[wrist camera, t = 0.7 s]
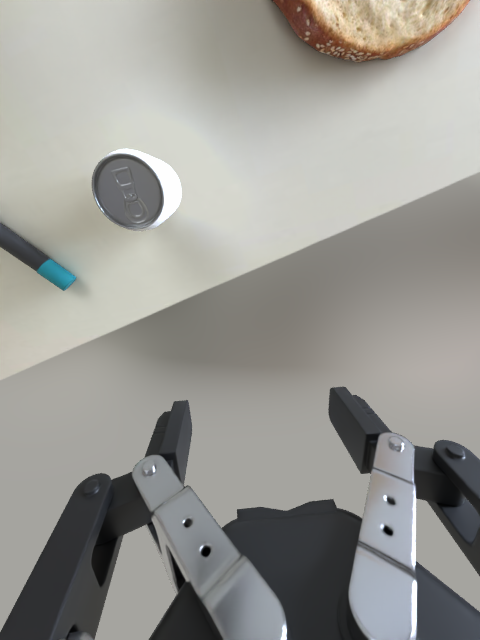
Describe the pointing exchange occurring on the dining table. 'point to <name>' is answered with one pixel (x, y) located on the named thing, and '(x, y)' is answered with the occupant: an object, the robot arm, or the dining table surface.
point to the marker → (35, 258)
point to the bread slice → (369, 25)
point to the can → (135, 189)
